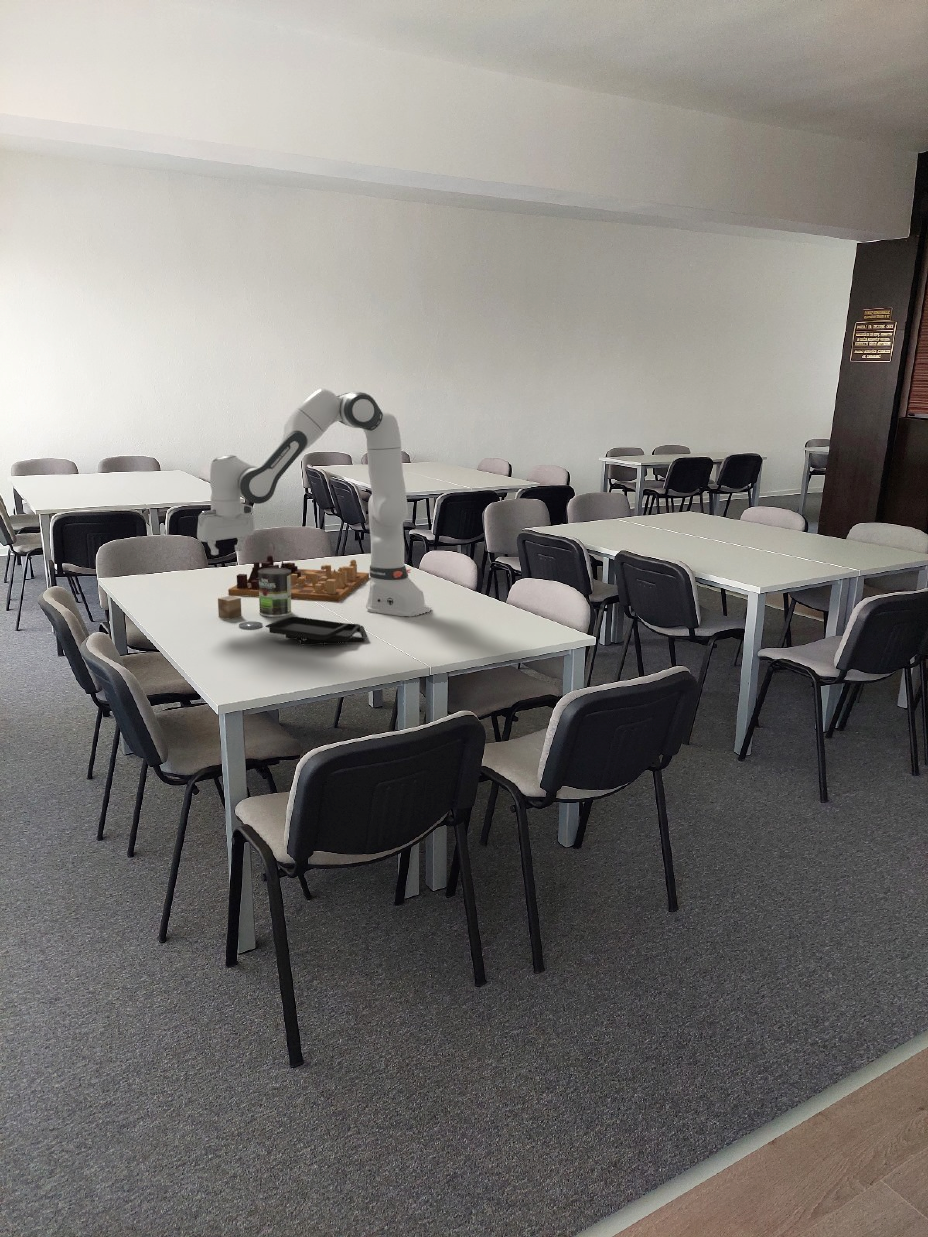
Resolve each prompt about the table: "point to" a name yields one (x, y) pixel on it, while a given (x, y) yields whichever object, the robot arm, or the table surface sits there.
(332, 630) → the tray
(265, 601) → the coffee can
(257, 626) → the slate coaster
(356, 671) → the table surface
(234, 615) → the walnut block
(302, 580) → the gameboard
